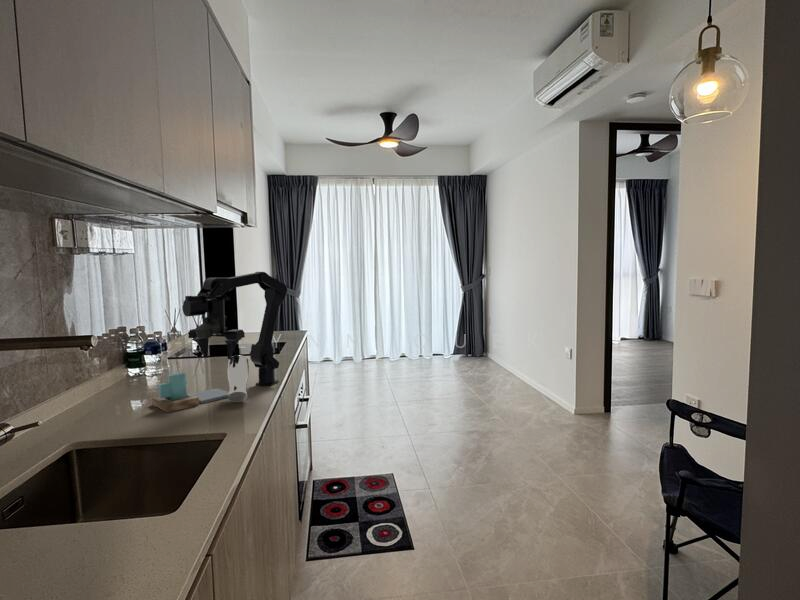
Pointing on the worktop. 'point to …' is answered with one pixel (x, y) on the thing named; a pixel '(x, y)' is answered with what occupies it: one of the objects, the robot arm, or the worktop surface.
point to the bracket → (174, 403)
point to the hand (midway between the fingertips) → (217, 358)
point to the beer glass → (238, 378)
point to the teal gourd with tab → (174, 387)
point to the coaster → (210, 395)
